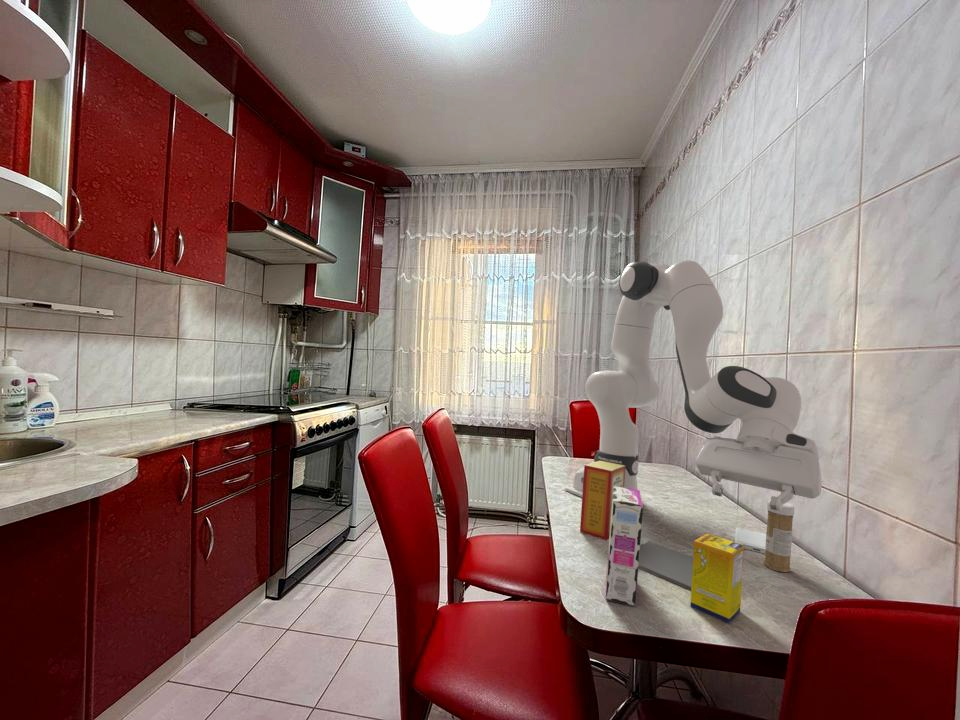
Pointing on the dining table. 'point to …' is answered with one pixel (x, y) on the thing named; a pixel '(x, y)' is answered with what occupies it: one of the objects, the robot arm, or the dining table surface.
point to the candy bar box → (624, 546)
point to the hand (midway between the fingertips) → (744, 500)
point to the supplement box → (717, 577)
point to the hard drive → (751, 539)
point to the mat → (666, 563)
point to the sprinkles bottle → (779, 538)
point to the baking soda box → (599, 496)
